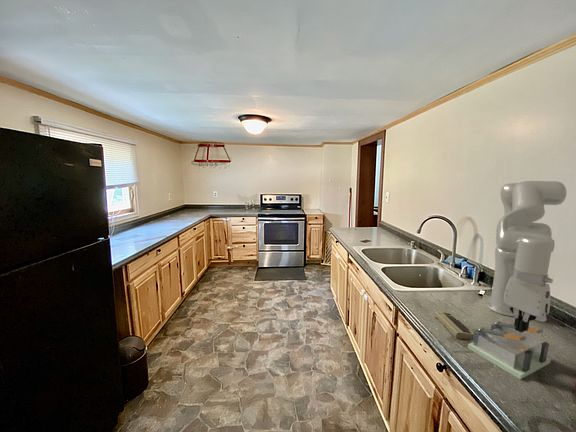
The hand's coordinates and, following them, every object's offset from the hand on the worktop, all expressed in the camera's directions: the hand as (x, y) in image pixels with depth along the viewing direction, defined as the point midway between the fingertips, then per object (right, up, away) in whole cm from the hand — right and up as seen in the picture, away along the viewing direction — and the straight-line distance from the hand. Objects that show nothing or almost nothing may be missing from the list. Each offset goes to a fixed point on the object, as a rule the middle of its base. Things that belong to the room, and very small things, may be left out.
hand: (520, 330), depth 83 cm
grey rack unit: (+3, -11, +8) cm, 14 cm away
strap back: (+7, -4, +9) cm, 12 cm away
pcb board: (+3, -13, +8) cm, 15 cm away
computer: (-5, -10, +25) cm, 28 cm away
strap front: (-2, -4, +5) cm, 7 cm away
